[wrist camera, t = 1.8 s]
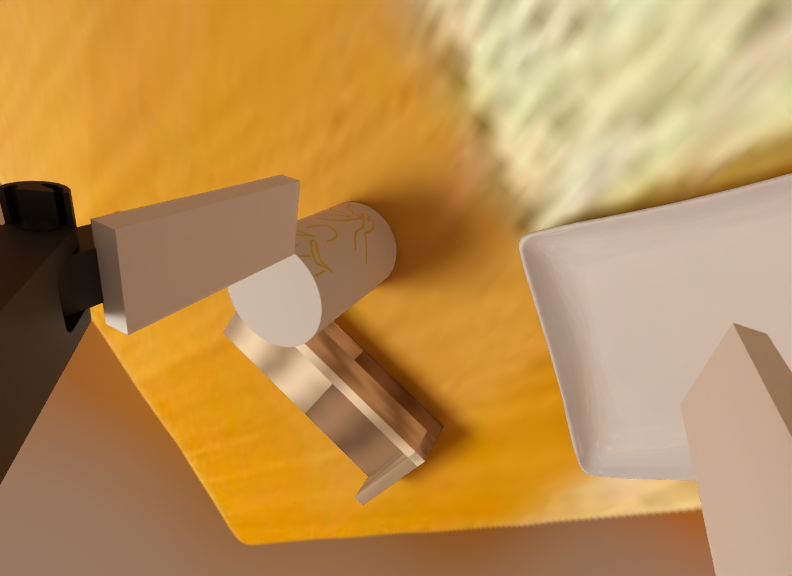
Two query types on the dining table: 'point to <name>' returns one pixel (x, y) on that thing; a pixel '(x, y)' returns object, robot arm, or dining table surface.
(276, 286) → the beige cylinder
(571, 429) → the salad plate
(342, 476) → the dining table surface
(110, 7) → the dining table surface
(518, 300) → the dining table surface
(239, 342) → the rail board
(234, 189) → the robot arm
